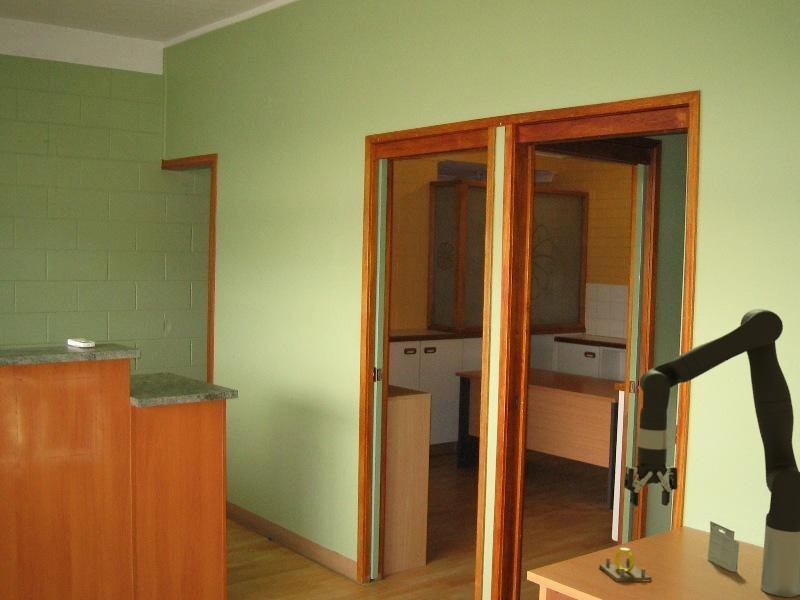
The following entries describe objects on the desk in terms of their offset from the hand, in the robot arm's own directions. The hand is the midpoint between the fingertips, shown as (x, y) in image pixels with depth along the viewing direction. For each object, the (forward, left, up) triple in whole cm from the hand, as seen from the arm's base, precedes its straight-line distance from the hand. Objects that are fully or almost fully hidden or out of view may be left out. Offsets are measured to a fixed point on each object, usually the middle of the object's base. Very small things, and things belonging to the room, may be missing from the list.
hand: (650, 505), depth 250 cm
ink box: (-29, -10, -20) cm, 37 cm away
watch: (+4, -4, -19) cm, 20 cm away
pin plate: (+4, -4, -20) cm, 21 cm away
